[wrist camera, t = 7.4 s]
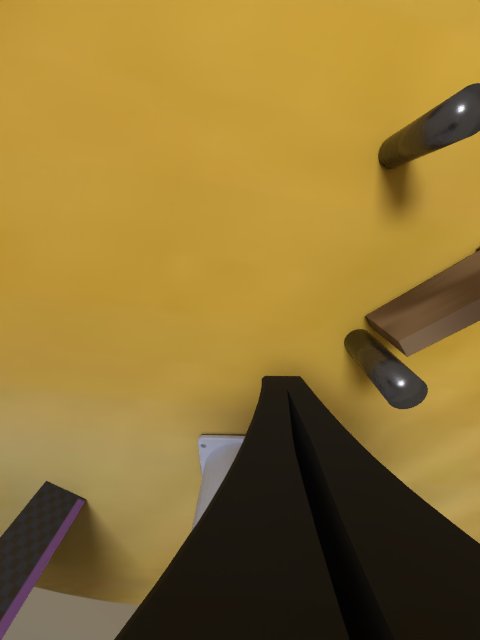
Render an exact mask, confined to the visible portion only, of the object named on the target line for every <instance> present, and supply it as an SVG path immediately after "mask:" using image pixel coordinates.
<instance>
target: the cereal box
mask: <svg viewBox="0 0 480 640" xmlns="http://www.w3.org/2000/svg"><path fill="white" fill-rule="evenodd" d="M85 501H86V499H84V498H82V497H80V496H78V495H76V494H74V493H71V492H69V491H67V490H65V489H63V488H61V487H58V486H56V485H54V484H52V483H50V482H48V481H46V482H45V483H44V484H43V486H42V487H41V488H40V489H39V490H38V492H37V493H36V494H35V495H34V497H33V498H32V499H31V500H30V502H29V503H28V504H27V505H26V507H25V508H24V509H23V510H22V511H21V513H20V514H19V515H18V516H17V518H16V519H15V520H14V521H13V523H12V524H11V525H10V526H9V528H8V529H7V530H6V531H5V532H4V534H3V535H2V536H1V537H0V640H2V638H3V636H4V635H5V633H6V631H7V630H8V628H9V626H10V625H11V623H12V621H13V619H14V618H15V616H16V615H17V613H18V611H19V610H20V608H21V607H22V605H23V603H24V601H25V600H26V598H27V597H28V595H29V593H30V592H31V590H32V588H33V587H34V585H35V583H36V582H37V580H38V579H39V577H40V575H41V574H42V572H43V570H44V569H45V567H46V565H47V564H48V562H49V560H50V559H51V557H52V555H53V554H54V552H55V550H56V549H57V547H58V546H59V544H60V542H61V541H62V539H63V537H64V536H65V534H66V532H67V531H68V529H69V527H70V526H71V524H72V522H73V521H74V519H75V518H76V516H77V514H78V513H79V511H80V509H81V508H82V506H83V504H84V503H85Z"/></svg>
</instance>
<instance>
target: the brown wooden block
mask: <svg viewBox="0 0 480 640" xmlns="http://www.w3.org/2000/svg"><path fill="white" fill-rule="evenodd" d="M366 317H367V319H368V321H369V322H370V324H371V326H372V327H373V329H374V330H376V331H377V332H378V333H379V334H380V335H382V336H383V337H384V338H385V339H386V340H388V341H389V342H390V343H391V344H392V345H394V346H395V347H396V348H397V349H398V350H400V351H401V352H402V353H403V354H404V355H406V356H407V357H408V356H410V355H412V354H414V353H416V352H418V351H420V350H422V349H424V348H426V347H428V346H430V345H432V344H434V343H436V342H438V341H440V340H442V339H444V338H446V337H448V336H450V335H452V334H454V333H456V332H458V331H460V330H462V329H464V328H466V327H468V326H470V325H472V324H474V323H476V322H478V321H480V250H479V251H478V252H476V253H474V254H472V255H471V256H469V257H467V258H465V259H464V260H462V261H460V262H458V263H457V264H455V265H453V266H451V267H450V268H448V269H446V270H445V271H443V272H441V273H439V274H438V275H436V276H434V277H432V278H431V279H429V280H427V281H425V282H424V283H422V284H420V285H418V286H417V287H415V288H413V289H411V290H410V291H408V292H406V293H405V294H403V295H401V296H399V297H398V298H396V299H394V300H392V301H391V302H389V303H387V304H385V305H384V306H382V307H380V308H378V309H377V310H375V311H373V312H372V313H370V314H368V315H366Z"/></svg>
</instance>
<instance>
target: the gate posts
mask: <svg viewBox="0 0 480 640" xmlns="http://www.w3.org/2000/svg"><path fill="white" fill-rule="evenodd" d="M478 131H480V83H476V84H472V85H469V86H467V87H465V88H464V89H462V90H461V91H459V92H458V93H456V94H455V95H453V96H452V97H450V98H449V99H447V100H445V101H444V102H442V103H441V104H439V105H438V106H436V107H435V108H433V109H432V110H430V111H429V112H427V113H426V114H424V115H423V116H421V117H419V118H418V119H416V120H415V121H413V122H412V123H410V124H409V125H407V126H406V127H404V128H403V129H401V130H400V131H398V132H397V133H395V134H394V135H392V136H390V137H389V138H388V139H386V140H385V141H384V142H383V144H382V145H381V147H380V150H379V161H380V163H381V165H382V166H383V167H385V168H388V169H392V168H395V167H398V166H400V165H403V164H405V163H407V162H410V161H412V160H415V159H417V158H419V157H422V156H424V155H427V154H429V153H431V152H434V151H436V150H439V149H441V148H443V147H446V146H448V145H451V144H453V143H455V142H458V141H460V140H463V139H465V138H467V137H470V136H472V135H474V134H476V133H477V132H478ZM344 345H345V348H346V349H347V350H348V352H349V353H350V354H351V355H352V357H353V358H354V359H355V361H356V362H357V363H358V364H359V366H360V367H361V368H362V369H363V371H364V372H365V373H366V375H367V376H368V377H369V378H370V380H371V381H372V382H373V384H374V385H375V386H376V387H377V389H378V390H379V391H380V393H381V394H382V395H383V396H384V398H385V399H386V400H387V401H388V403H389V404H390V405H391V406H393V407H395V408H398V409H408V408H412V407H414V406H416V405H418V404H420V403H421V402H422V401H423V400H424V399H425V397H426V395H427V392H428V388H427V385H426V384H425V382H424V381H422V380H421V379H420V378H419V377H418V376H417V375H416V374H415V373H413V372H412V371H411V370H410V369H409V368H408V367H407V366H406V365H405V364H403V363H402V362H401V361H400V360H399V359H398V358H397V357H396V356H394V355H393V354H392V353H391V352H390V351H389V350H388V349H387V348H386V347H384V346H383V345H382V344H381V343H380V342H379V341H378V340H377V339H376V338H374V337H373V336H372V335H371V334H370V333H369V332H368V331H366V330H362V329H358V330H354V331H352V332H350V333H349V334H348V335H347V336H346V338H345V341H344Z"/></svg>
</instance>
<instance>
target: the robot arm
mask: <svg viewBox="0 0 480 640" xmlns="http://www.w3.org/2000/svg"><path fill="white" fill-rule="evenodd" d="M198 447H199V456H200V464H201V473H202V481H201V486H200V492H199V497H198V502H197V507H196V512H195V517H194V522H193V527H192V532H191V533H190V535H189V536H188V537H187V539H186V540H185V542H184V543H183V545H182V546H181V548H180V549H179V551H178V552H177V554H176V555H175V557H174V558H173V560H172V561H171V563H170V564H169V566H168V567H167V569H166V570H165V572H164V573H163V574H162V576H161V577H160V579H159V580H158V581H157V583H156V584H155V586H154V587H153V588H152V590H151V591H150V592H149V594H148V595H147V596H146V598H145V599H144V600H143V602H142V603H141V604H140V606H139V607H138V608H137V610H136V611H135V613H134V614H133V615H132V617H131V618H130V619H129V621H128V622H127V623H126V625H125V626H124V627H123V629H122V630H121V631H120V633H119V634H118V635H117V637H116V638H115V639H114V640H480V544H479V543H478V542H477V541H475V540H474V539H473V538H471V537H470V536H469V535H467V534H466V533H465V532H464V531H462V530H461V529H460V528H458V527H457V526H456V525H455V524H453V523H452V522H451V521H450V520H448V519H447V518H446V517H444V516H443V515H442V514H441V513H439V512H438V511H437V510H436V509H434V508H433V507H432V506H431V505H429V504H428V503H427V502H425V501H424V500H423V499H422V498H421V497H419V496H418V495H417V494H416V493H415V492H413V491H412V490H411V489H410V488H409V487H407V486H406V485H405V484H404V483H403V482H402V481H400V480H399V479H398V478H397V477H396V476H395V475H394V474H392V473H391V472H390V471H389V470H388V469H387V468H386V467H384V466H383V465H382V464H381V463H380V462H379V461H378V460H377V459H376V458H375V457H373V456H372V455H371V454H370V453H369V452H368V451H367V450H366V449H365V448H364V447H363V446H362V445H361V444H360V443H359V442H358V441H357V440H356V439H355V438H354V437H353V436H352V435H351V434H350V433H349V432H348V431H347V430H346V429H345V428H344V427H343V426H342V425H341V423H340V422H339V421H338V420H337V419H336V418H335V417H334V416H333V415H332V414H331V412H330V411H329V410H328V409H327V408H326V407H325V406H324V405H323V403H322V402H321V401H320V400H319V399H318V397H317V396H316V395H315V394H314V393H313V391H312V390H311V389H310V388H309V387H308V385H307V384H306V383H305V382H304V380H303V379H302V378H301V377H300V376H265V377H263V378H262V388H261V393H260V397H259V401H258V404H257V407H256V410H255V413H254V416H253V419H252V421H251V424H250V426H249V429H248V431H247V433H246V436H231V435H201V436H199V438H198Z"/></svg>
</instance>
